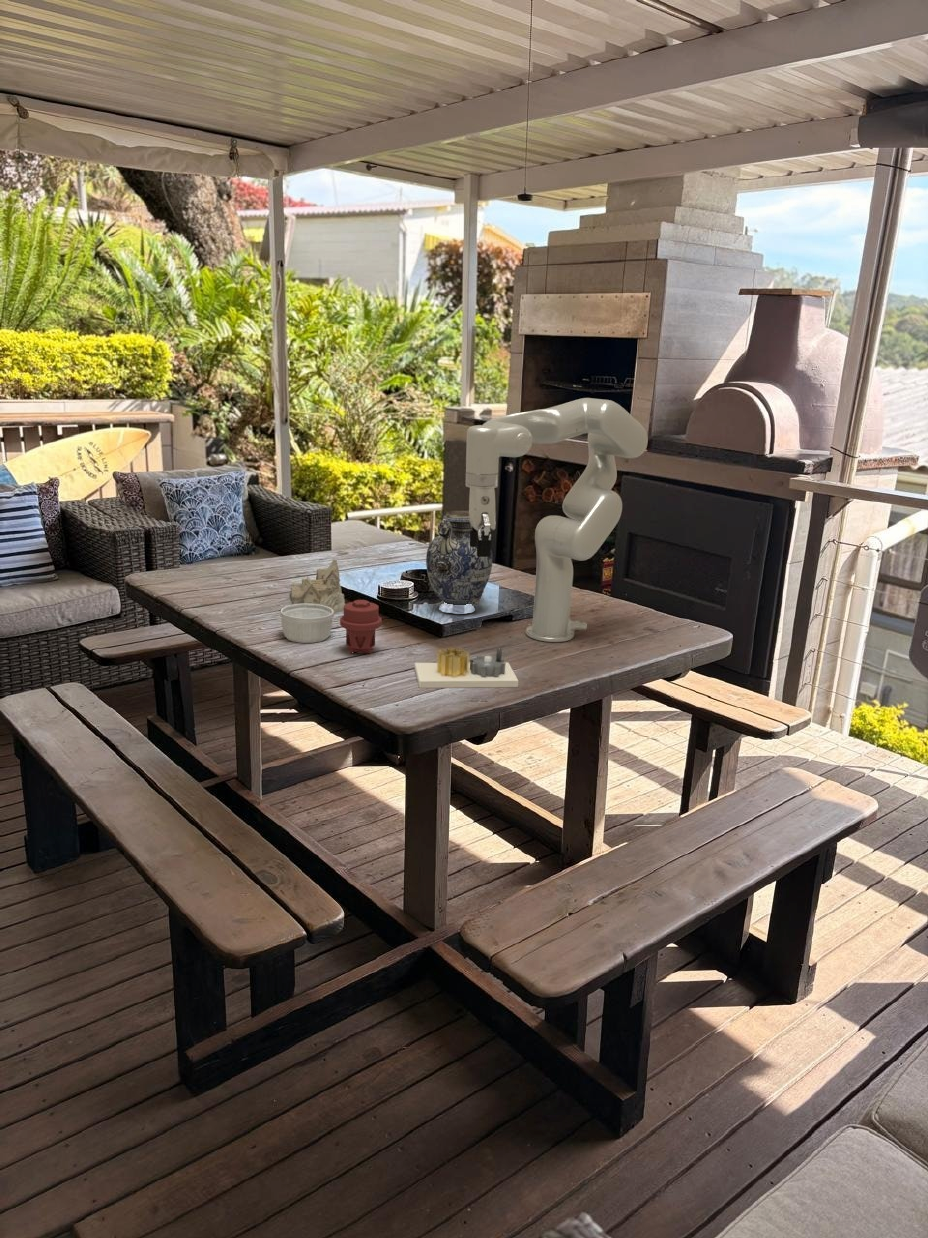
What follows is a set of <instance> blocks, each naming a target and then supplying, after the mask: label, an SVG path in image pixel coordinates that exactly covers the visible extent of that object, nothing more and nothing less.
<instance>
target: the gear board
mask: <svg viewBox="0 0 928 1238" xmlns="http://www.w3.org/2000/svg"><path fill="white" fill-rule="evenodd" d="M502 656H503V648H502V647H496V657H495V656H494V655H483V656H482V655H476V657H475V658H474V657H473V658H472V657H471V658H469V669H468V672H467V673H466V675H465V676H462V675H460V676H457V677H452V676H447V675H446V676H442V675H441V672H439V673H437V662H414V672H415V675H416V679H417V683H418V687H419V689H433V688H434V689H436V688H439V689H440V688H441V689H442V688H446V689H447V688H457V689H459V688H519V679H518V678H517V675H516V674H515V672H514V670H513V668H512V667H511V665H510V662H505V658H502Z"/></svg>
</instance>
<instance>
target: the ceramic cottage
mask: <svg viewBox="0 0 928 1238" xmlns="http://www.w3.org/2000/svg"><path fill="white" fill-rule="evenodd" d="M338 564H339V563H338V559H337V558H333V559H332V561H331V564H330V565H329V566H328V567H327V568H317V569H316V577H315V579H311V578H310V577H309V576H307V577H306V578H301V583H299V584H298V583H296V584H295V583H292V584H291V586H290V592H289V597H288V598H289V599H290V600H289V601H290V602H291V603H290V605H293V604H305V603H309V604H320V605H324V606H328V607H330V608H332V609H333V611H334V614H338V613H341V612H344V605H345V604H346V600H345V594H344V593H342V587H341V584H340V582H341V579H340V569H339V565H338Z"/></svg>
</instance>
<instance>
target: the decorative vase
mask: <svg viewBox="0 0 928 1238" xmlns="http://www.w3.org/2000/svg"><path fill="white" fill-rule="evenodd" d="M470 526H471V524H470V521H469V510H449V511H446V514H445V515H443V517H442V520H440V521H439V522H438V526H437V533H438V536H435V537H434V538H433V539H432V540H431V541H430V543H429V545H428V547H427V551H426V555H425V558H426V559H425V561H426V562H425V564H426V566H425V567H426V572H427V577H428V580H429V583H430V586H431V588H432V590H433V592H434V593H435V595H436V596H437V597H438V598H439V600H441V601H442V603H444V602H445V603H447V604H453V605H466V604H472V605H475V604H476V603H479V602H480V601H481V599H482V596H483V594H484V590H485V588H486V586H487V584H488V583H489V579H490V577H491V573H492V569H493V568H492V567H493V553H492V550H491V555H490V557H478V556H477V547H470V530H471V529H470Z"/></svg>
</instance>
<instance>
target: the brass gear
mask: <svg viewBox="0 0 928 1238" xmlns="http://www.w3.org/2000/svg"><path fill="white" fill-rule="evenodd" d="M436 656H437V657H436V663H437V673H439V672H441V675H442V676H446V675H447V676H452V677H457V676H460V675H462V676H465V675H466V673H467V672H468V669H469V663H470V652H469V651H465V649H463V648H454V647H449V648H445V649H444V648H441V649H439V651H437V655H436Z"/></svg>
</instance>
